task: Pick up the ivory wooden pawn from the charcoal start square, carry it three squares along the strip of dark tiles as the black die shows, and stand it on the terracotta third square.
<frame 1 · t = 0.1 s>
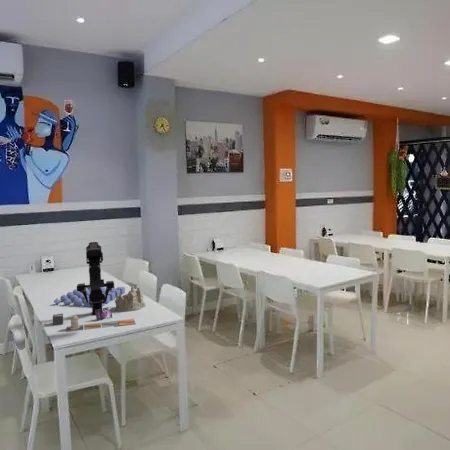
hand: (96, 301, 224), 15 cm above the table, tool pointing down, fingers open, 9 cm apart
game card: (103, 319, 242), on the table
pawn: (74, 328, 226), resting on game board
blocks: (90, 300, 285), on the table
die: (58, 324, 235), on the table
game board: (101, 325, 230), on the table
sand castle: (130, 307, 263), on the table
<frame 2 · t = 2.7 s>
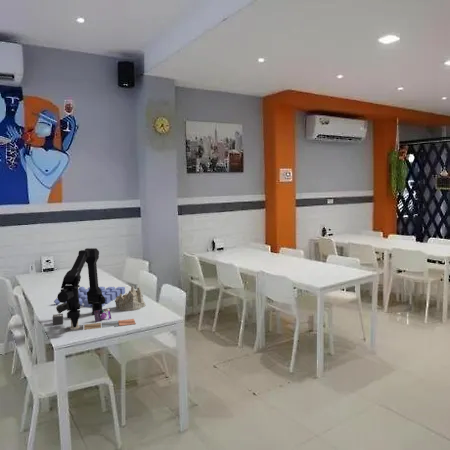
hand: (74, 326, 226), 2 cm above the table, tool pointing down, fingers closed on pawn, 4 cm apart
game card: (102, 320, 239), on the table
pawn: (74, 328, 226), resting on game board, touching gripper
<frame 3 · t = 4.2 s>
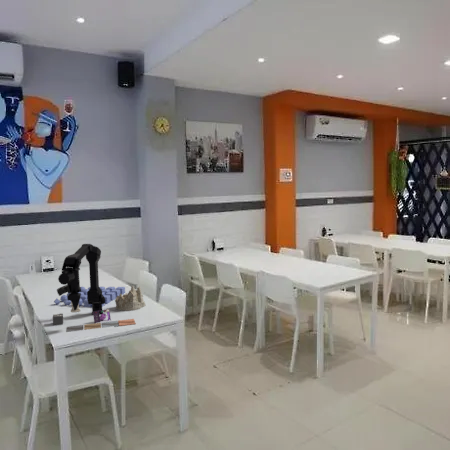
hand: (75, 308, 225), 11 cm above the table, tool pointing down, fingers closed on pawn, 4 cm apart
game card: (101, 321, 238), on the table
pawn: (75, 311, 225), point 10 cm above the table, touching gripper
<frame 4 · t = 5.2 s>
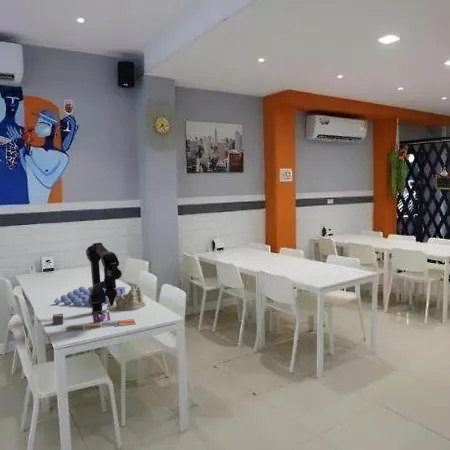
hand: (111, 304, 231), 11 cm above the table, tool pointing down, fingers closed on pawn, 4 cm apart
pawn: (111, 306, 231), point 10 cm above the table, touching gripper
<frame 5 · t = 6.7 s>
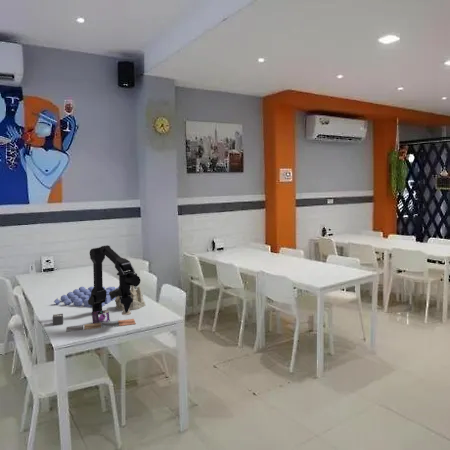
hand: (126, 311, 234), 6 cm above the table, tool pointing down, fingers closed on pawn, 4 cm apart
pawn: (126, 313, 234), point 5 cm above the table, touching gripper
when the fingers open (3 cm above the table, at t = 8.0 s): pawn drops 1 cm, resting on game board.
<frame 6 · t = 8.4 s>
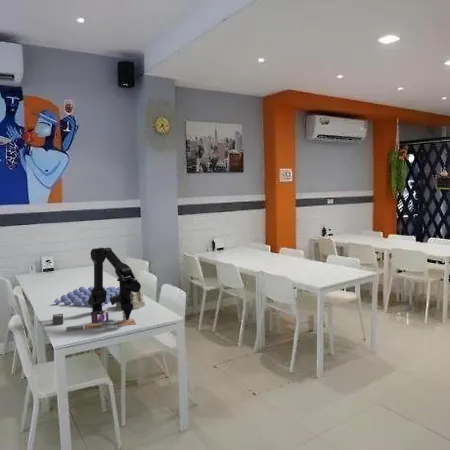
hand: (126, 317, 234), 3 cm above the table, tool pointing down, fingers open, 8 cm apart
pawn: (126, 321, 234), resting on game board
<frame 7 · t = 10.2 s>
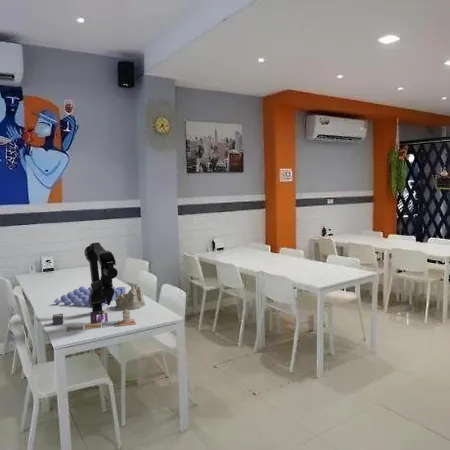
hand: (107, 302, 233), 11 cm above the table, tool pointing down, fingers open, 9 cm apart
game card: (99, 322, 236), on the table, touching game board
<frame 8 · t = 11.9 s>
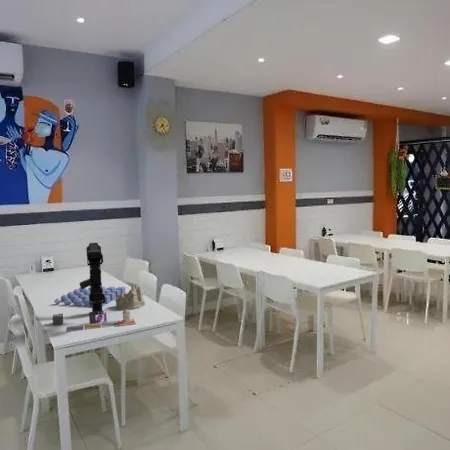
hand: (97, 302, 233), 12 cm above the table, tool pointing down, fingers open, 9 cm apart
game card: (98, 322, 236), on the table
at the end: pawn 0.1 cm from the target spot on the game board, point 0.4 cm above the game board's base; pawn tilted 1°; the gripper is holding nothing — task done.
